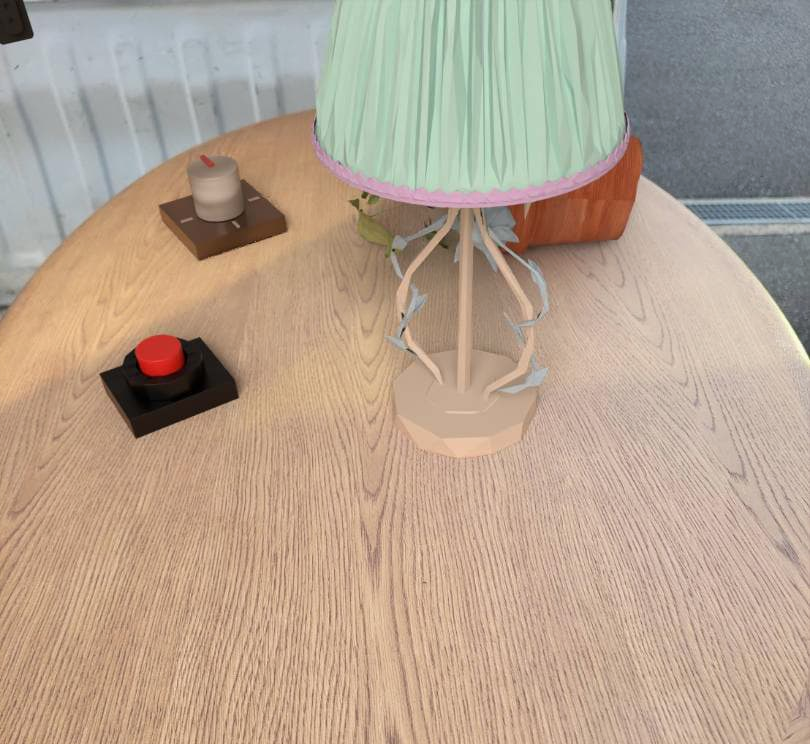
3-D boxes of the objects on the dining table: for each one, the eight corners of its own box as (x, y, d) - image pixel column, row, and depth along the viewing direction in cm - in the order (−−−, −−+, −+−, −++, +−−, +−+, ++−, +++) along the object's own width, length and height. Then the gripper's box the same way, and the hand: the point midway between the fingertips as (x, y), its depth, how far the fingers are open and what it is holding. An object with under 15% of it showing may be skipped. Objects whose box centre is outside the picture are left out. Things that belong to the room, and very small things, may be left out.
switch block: (136, 439, 77) (123, 404, 74) (105, 392, 81) (92, 357, 78) (239, 398, 80) (231, 363, 77) (204, 355, 85) (195, 320, 82)
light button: (149, 383, 76) (144, 366, 75) (133, 360, 79) (128, 344, 77) (192, 367, 78) (187, 350, 76) (174, 345, 80) (170, 329, 79)
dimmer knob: (253, 212, 99) (245, 166, 95) (208, 226, 97) (198, 180, 94) (232, 193, 103) (224, 148, 99) (188, 207, 101) (178, 161, 97)
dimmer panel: (199, 261, 97) (194, 243, 95) (162, 221, 103) (157, 203, 101) (287, 231, 100) (284, 214, 99) (246, 194, 107) (243, 177, 105)
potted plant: (602, 222, 103) (305, 203, 102) (636, 89, 91) (299, 66, 90) (618, 303, 93) (289, 283, 92) (658, 167, 81) (281, 142, 80)
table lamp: (619, 375, 81) (721, -179, 51) (527, 529, 68) (593, -86, 38) (412, 317, 88) (397, -196, 58) (295, 447, 75) (199, -123, 46)
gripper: (-149, -222, 72) (-60, 9, 85) (-109, -195, 62) (-15, 63, 75) (-56, -233, 75) (16, -7, 87) (-4, -208, 65) (70, 43, 77)
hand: (2, 25), depth 81 cm, fingers open, 9 cm apart
